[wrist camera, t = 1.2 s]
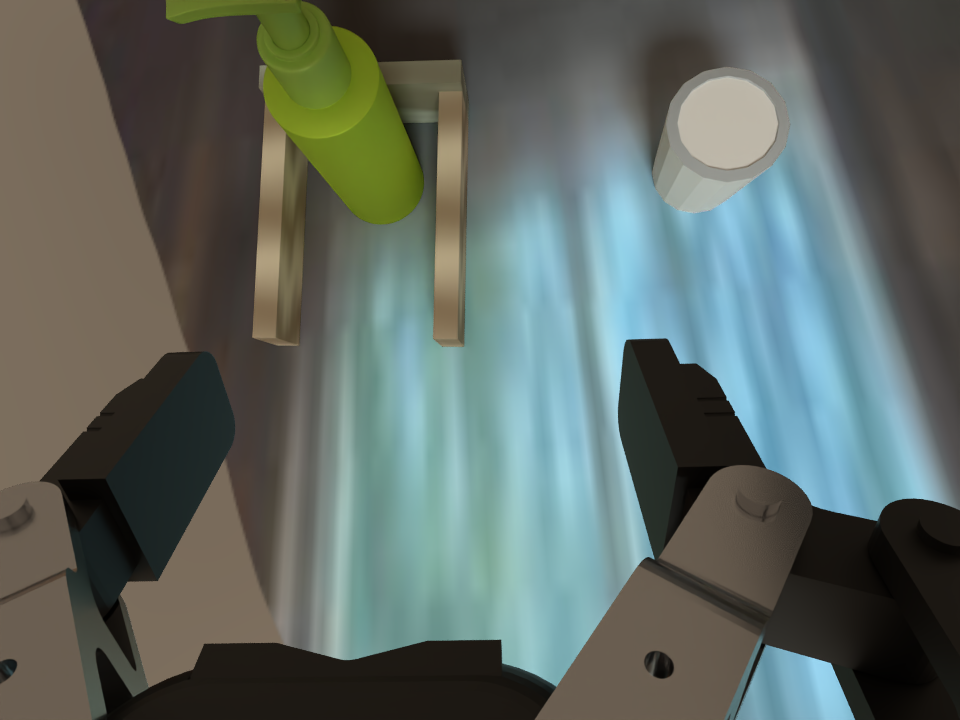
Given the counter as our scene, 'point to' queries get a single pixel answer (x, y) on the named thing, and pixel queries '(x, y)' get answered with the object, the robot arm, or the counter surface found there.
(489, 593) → the counter surface
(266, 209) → the shelf
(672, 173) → the shot glass
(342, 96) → the soap dispenser
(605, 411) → the counter surface
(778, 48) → the counter surface
